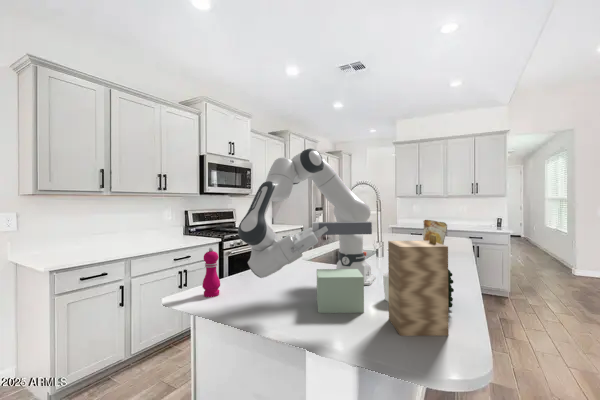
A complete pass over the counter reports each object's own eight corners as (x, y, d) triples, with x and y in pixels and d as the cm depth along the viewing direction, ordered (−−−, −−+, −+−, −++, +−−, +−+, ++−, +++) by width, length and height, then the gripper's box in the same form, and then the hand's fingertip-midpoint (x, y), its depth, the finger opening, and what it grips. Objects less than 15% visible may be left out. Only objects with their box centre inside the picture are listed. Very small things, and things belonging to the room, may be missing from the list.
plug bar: (312, 235, 104) (312, 223, 104) (312, 233, 108) (312, 222, 108) (371, 234, 104) (371, 222, 104) (369, 232, 108) (369, 221, 108)
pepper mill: (223, 293, 130) (223, 246, 130) (213, 298, 124) (213, 249, 123) (209, 291, 133) (208, 245, 133) (198, 296, 126) (198, 248, 126)
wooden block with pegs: (400, 335, 89) (399, 238, 89) (388, 319, 101) (388, 233, 101) (448, 335, 89) (448, 237, 89) (431, 319, 101) (430, 232, 101)
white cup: (401, 305, 114) (401, 278, 114) (380, 301, 118) (380, 275, 118) (406, 299, 121) (406, 273, 121) (386, 295, 125) (386, 271, 125)
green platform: (318, 312, 107) (318, 277, 107) (316, 301, 119) (316, 269, 119) (364, 312, 107) (363, 277, 107) (357, 300, 119) (357, 268, 119)
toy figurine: (461, 318, 105) (442, 290, 129) (462, 265, 103) (443, 246, 127) (431, 316, 107) (419, 289, 131) (432, 264, 105) (419, 246, 129)
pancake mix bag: (429, 271, 165) (429, 219, 165) (449, 280, 146) (448, 222, 146) (417, 271, 165) (417, 219, 164) (435, 281, 146) (435, 222, 145)
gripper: (285, 244, 96) (323, 221, 95) (288, 235, 116) (320, 217, 116) (296, 261, 96) (334, 239, 95) (297, 250, 116) (328, 231, 116)
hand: (326, 227), depth 106 cm, fingers closed on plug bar, 4 cm apart
